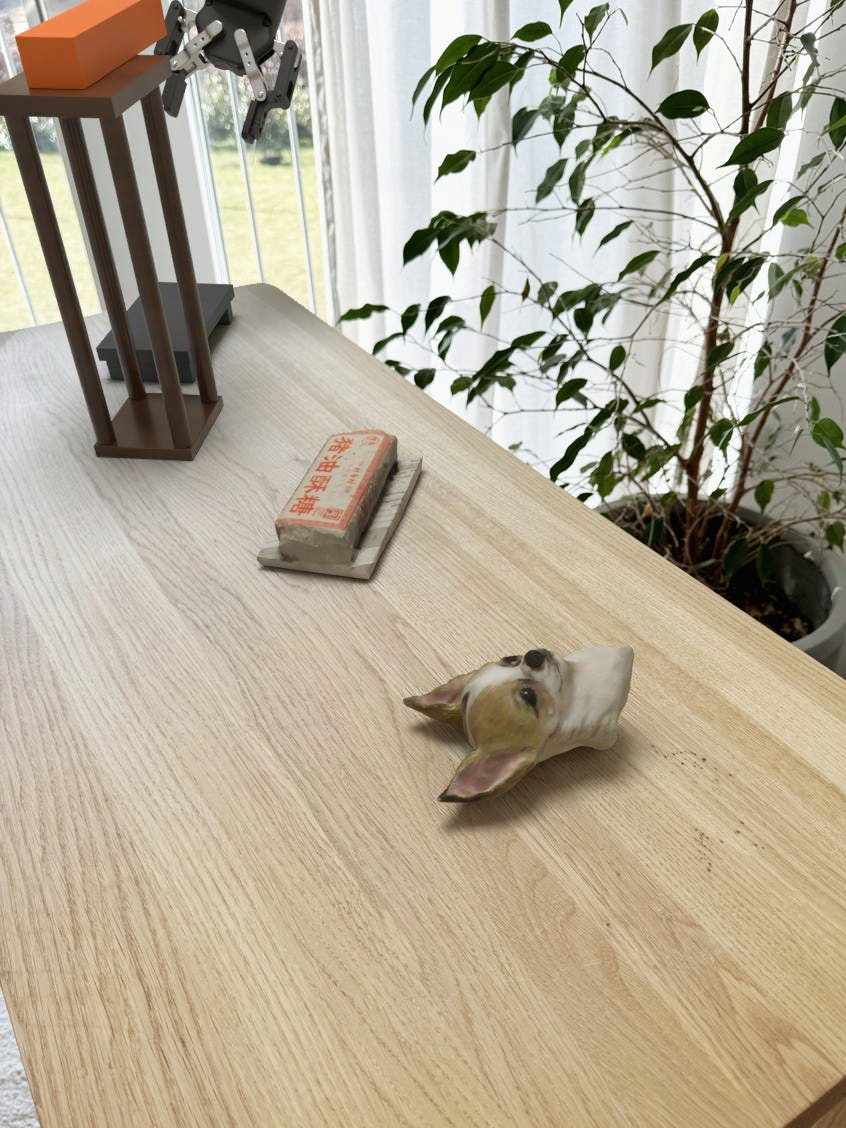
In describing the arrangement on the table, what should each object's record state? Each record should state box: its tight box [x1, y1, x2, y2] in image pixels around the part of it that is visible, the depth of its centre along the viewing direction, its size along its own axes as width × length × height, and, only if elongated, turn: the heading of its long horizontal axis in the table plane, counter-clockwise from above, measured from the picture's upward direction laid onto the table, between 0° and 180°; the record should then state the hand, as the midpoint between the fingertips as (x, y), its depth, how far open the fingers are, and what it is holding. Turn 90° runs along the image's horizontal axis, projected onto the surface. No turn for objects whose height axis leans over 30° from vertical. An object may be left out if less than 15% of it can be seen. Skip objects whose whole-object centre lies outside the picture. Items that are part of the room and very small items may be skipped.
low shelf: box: [95, 281, 236, 384], centre depth 114 cm, size 18×10×4 cm, turn 175°
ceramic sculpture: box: [402, 644, 635, 804], centre depth 66 cm, size 11×9×15 cm
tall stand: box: [0, 54, 224, 461], centre depth 91 cm, size 14×10×32 cm
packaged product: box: [256, 428, 424, 580], centre depth 88 cm, size 18×5×10 cm
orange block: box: [14, 0, 167, 89], centre depth 83 cm, size 20×4×4 cm, turn 175°
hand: (207, 127), depth 104 cm, fingers open, 8 cm apart
